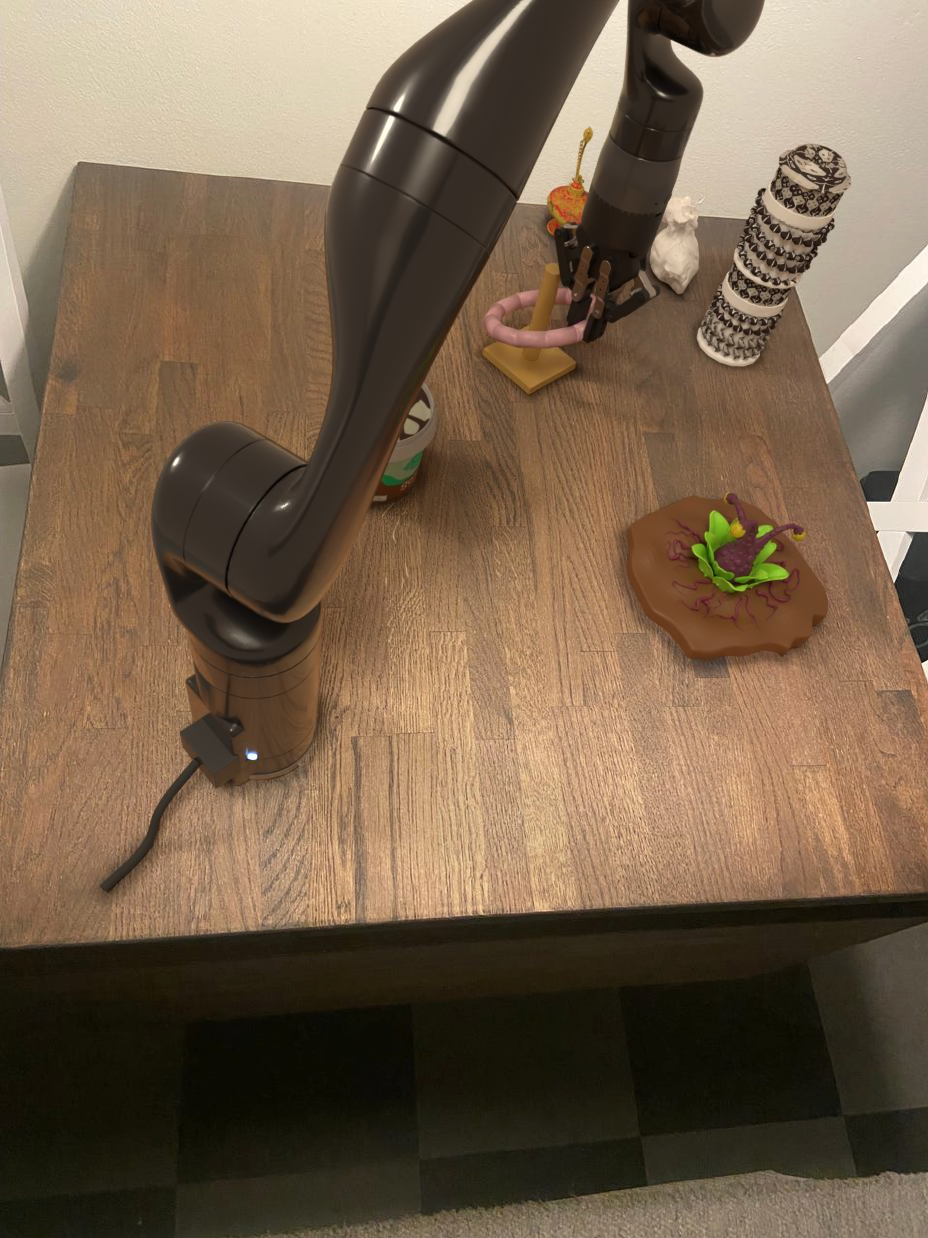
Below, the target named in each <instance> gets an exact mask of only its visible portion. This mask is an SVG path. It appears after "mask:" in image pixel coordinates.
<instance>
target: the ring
mask: <svg viewBox="0 0 928 1238" xmlns="http://www.w3.org/2000/svg"><path fill="white" fill-rule="evenodd" d="M539 290H540V288H535V289H531V290H527V291H521V292H515V293H513V294H511V295H508V296H507V297H505V298H503V299H500V300H498V301H496V302H494V303H493V304H492V305H491V306H490V308H489V309H488V311H487V312H486V314H485V315H484V317H483V319H482V325H483V327H484V328H485V330H486V332H487V333H488V335H489V336H490V337H491V339H492V340H494V341H495V342H497V341H499V342H501V343H504V344H507V345H510V346H513V347H516V348H542V349H548V348H553V347H558V348H559V347H562V346H567V345H573V344H578V343H579V342H581V341H583V340H582V339H583V333H584V330H585V327H586V324H587V321H588V318H589V315H590V313H592V311H593V307H594V303H595V300H596V296H595V295H594V294H591V295H590V296H591V297H592V298H593V300H592V303H591V306H590V309H589V312H588V315H587V318H586V319H585V320H583V321H581V322H579V323H577V324H575V325H573V326H570V327H567V326H565V327H561V328H556V329H549V330H546V331H520V329H516V328H513V327H510V326H507V325H505V324H503V323H502V322H501V321H502V320H503V318H504V317H506V316H508V315H510V314H512V313H514V312H516V311H518V310H521V309H527V308H532V307H535V304H536V301H537V297H538V293H539ZM571 301H572V297H571V290H570V289H569V288H560V287H559V289H558V293H557V296H556V299H555V303H554V306H559V305H561V306H570V304H571Z"/></svg>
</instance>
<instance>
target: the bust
mask: <svg viewBox="0 0 928 1238" xmlns="http://www.w3.org/2000/svg"><path fill="white" fill-rule="evenodd" d="M699 213H700V209H698V208H697V206H696V205H695V204H692V198H691V196H689V195H686V196H684V197H671V198H670V200H669V202H668V204H667V207H666V210H665V212H664V215H663V218H662V220H661V222H662V223H665V224H667V226H666V228H664V229H662V230H661V231H660V232H659V233H657V234H656V236H655V239H654V241H653V243H652V245H651V247H650V255H649V264H650V268H651V271H652V272H653V274H654V275H655V277H656V278H657V279H658V280H659V281H661V282H663V283H665V284H668V285H669V286H670V288H671V289H672V290H673V291H674V292H675V293H676V294H677V295H681V294H684V292H685V291H686V289H687V287H688V285H689V284H690V282H691V281H692V279H693V278H694V276H695V275H696V274H697V273H698V271H699V263H700V251H699V241H698V240H697V237H696V236H695V234H696V233H695V230H697V229H698V226H699V222H698V219H699Z"/></svg>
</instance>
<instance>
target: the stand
mask: <svg viewBox="0 0 928 1238" xmlns="http://www.w3.org/2000/svg"><path fill="white" fill-rule="evenodd" d="M560 286H561V279H560V272H559V265H558V263H555V262H549V263H548V264H546V265H545V268H544V271H543V274H542V279H541V283H540V286H539V289H540V290H539V293H538V297H537V301H536V304H535V306H534V309H533V311H532V316H531V320H530V323H529V324H528V325H526V326H525V327H522V328H520V329H519V330H520V331H548V328H549V323H550V320H551V316H552V313H553V310H554V306H555V305H554V303H555V299H556V296H557V293H558V289H559V288H560ZM481 355H482V356H483V357H484V358H485V359H487V360H488V361H489V362H490V363H491V364H492V365H494V366H495V368H497V369H498V370H499V371H500V372H502V373H503V374H504V375H505V376H507V378H509V379H510V380H511V381H512V382H513V383H515V384H516V385H517V386H518V387H519V388H520V389H521V390H523V391H524V392H525V393H526V394H527V395H531V394H533V393H534V392H536V391H538V390H540V389H541V388H543V387H545V386H547V385H548V384H550V383H552V382H554V381H556V380H558V379H560V378H561V377H563V376H564V375H566V374H568V373H570V372H572V371H574V370H575V369H576V366H577V361H575V360H574V359H573V358H572V357H571V356H569V355H568V354H567V353H566V352H565V351H563V350H562V349H561V348H560V347H559V346H558V347H553V348H548V349H542V348H516V347H513V346H510V345H507V344H504V343H501V342H499V341H494V342H493V343H491V344H489V345H487V346H485V347H484V348H483V349H482V354H481Z"/></svg>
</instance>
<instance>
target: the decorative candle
mask: <svg viewBox="0 0 928 1238" xmlns="http://www.w3.org/2000/svg"><path fill="white" fill-rule="evenodd" d="M778 165H779V166H778V167H777V169H776V171H775V175H774V177H773V179H772V180H771V181H770V182H768V184H767V186H766V187H762V188H759V189H758V191H757V194H756V195H757V196H756V198H755V200H754V203H755V205H754V206H752V207H751V208H750V214H749V216H748V218H747V219H746V221H745V225H744V226H743V229H742V230H743V234H741V235H739V237H738V239H739V242H738V243H737V245H736V248H735V249H734V254H733V260H734V261H733V263H732V267H731V269H730V270H729V271H728V272H726V275H725V277H724V279H723V281H722V282H720V283H719V284H718V286H717V289H716V291H715V294H714V295H713V299H712V300H711V303H710V305H708V307H707V309H706V312H705V315H704V317H703V318H702V321H701V323H700V327H699V328H697V329H698V330H697V335H696V340H697V343H698V346H699V347H700V349H701V350H702V351H703V352H704V353H705V354H706V355H707V356H708V357H710V358H711V359H713V360H714V361H716V362H718V363H720V364H724V365H726V366H729V367H746V366H748V365H749V366H750V365H753V364H754V363H755V362H756V361H757V360H758V359H759V358H760V356H761V351H764V350H765V347H764V346H765V344H766V343H767V342H768V341H770V339H771V338H770V336H769V335H771V334H772V332H773V331H772V330H774V329H776V327H777V323H778V320H780V319H781V318H782V317H783V312H784V307H785V306H786V304H787V302H788V300H789V295H790V293H791V291H792V290H793V288H794V287H796V286H797V285H798V284H799V283H800V282H801V281H802V279H803V277H804V276H803V275H804V273H806V271H808V270H810V269H811V264H812V261H813V260H814V259H815V258H816V257H817V256H818V255H819V252H818V250H819V247H821V246H822V245H823V244H826V243H827V240H828V234H829V233H830V232H831V231H832V230H834V229H835V227H836V225H835V217H834V216H835V214H836V212H837V207H838V204H839V203H840V201H841V200H842V197H843V196H844V194H845V192H846V191H847V190H848V189H849V188H850V187H851V186H852V176H851V175H850V174H849V172H848V167H847V163H846V161H845V160H844V158H843V156H842V155H840V154H839V153H838V152H837V151H835V150H834V149H831V148H829V147H828V146H825V145H822V144H818V143H804V144H800V145H798V146H796V147H795V148H793V149H788V150H785V151H784V152H782V153H781V154H780V155H779V158H778Z"/></svg>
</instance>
